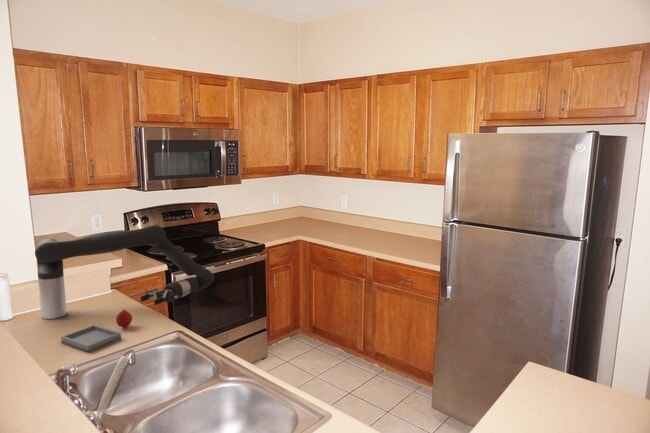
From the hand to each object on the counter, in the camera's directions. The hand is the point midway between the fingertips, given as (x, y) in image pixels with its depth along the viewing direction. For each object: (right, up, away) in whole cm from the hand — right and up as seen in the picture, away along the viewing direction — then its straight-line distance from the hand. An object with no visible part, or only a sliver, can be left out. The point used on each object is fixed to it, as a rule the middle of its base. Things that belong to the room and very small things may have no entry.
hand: (147, 300), depth 184 cm
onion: (-6, -9, -9) cm, 14 cm away
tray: (-12, -11, -21) cm, 27 cm away
